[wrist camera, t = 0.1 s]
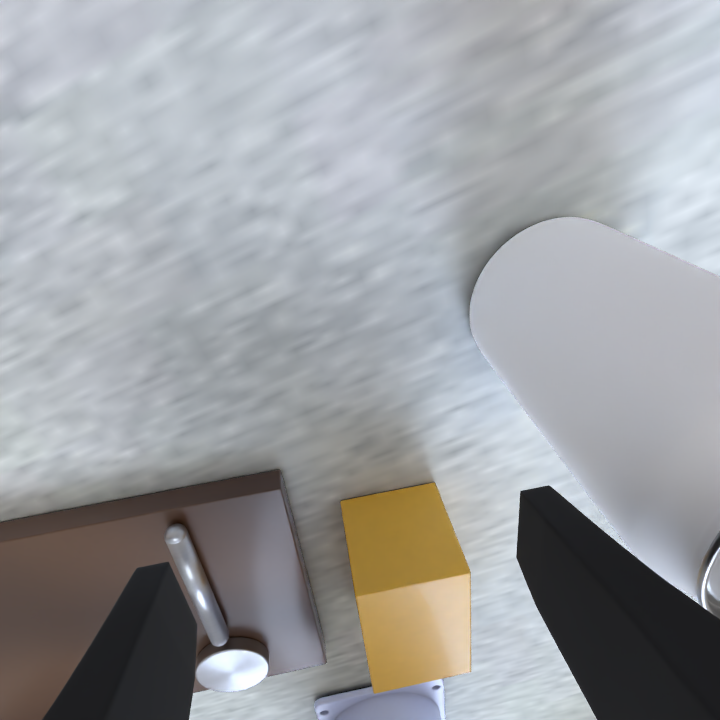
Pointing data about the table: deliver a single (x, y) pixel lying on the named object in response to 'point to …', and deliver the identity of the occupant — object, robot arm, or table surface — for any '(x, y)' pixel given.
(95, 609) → the board
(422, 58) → the table surface
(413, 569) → the block
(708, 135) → the table surface
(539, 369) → the can
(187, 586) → the silver rod with disc
